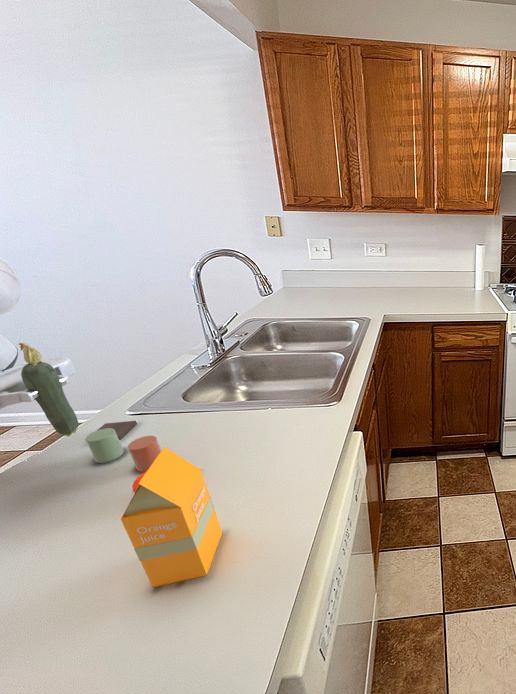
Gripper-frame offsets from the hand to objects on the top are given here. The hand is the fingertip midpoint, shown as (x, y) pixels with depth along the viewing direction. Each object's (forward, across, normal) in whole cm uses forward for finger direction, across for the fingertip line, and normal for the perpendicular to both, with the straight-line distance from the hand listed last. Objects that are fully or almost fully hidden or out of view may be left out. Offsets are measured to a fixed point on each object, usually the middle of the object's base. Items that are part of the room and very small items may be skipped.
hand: (49, 388), depth 73 cm
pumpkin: (+14, +1, -24) cm, 28 cm away
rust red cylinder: (+6, -7, -24) cm, 25 cm away
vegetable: (-1, 0, -11) cm, 11 cm away
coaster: (-13, -19, -24) cm, 33 cm away
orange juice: (+31, +16, -24) cm, 42 cm away
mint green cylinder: (-6, -10, -24) cm, 26 cm away
